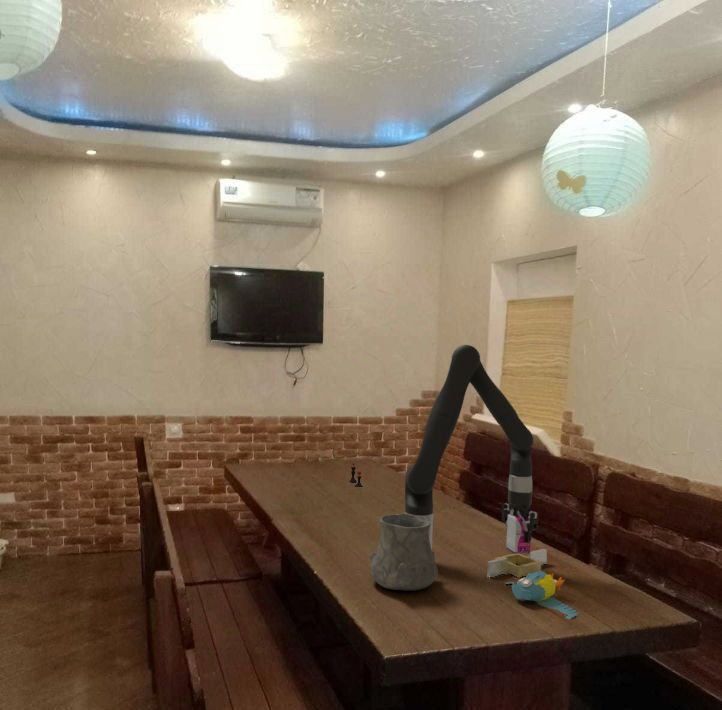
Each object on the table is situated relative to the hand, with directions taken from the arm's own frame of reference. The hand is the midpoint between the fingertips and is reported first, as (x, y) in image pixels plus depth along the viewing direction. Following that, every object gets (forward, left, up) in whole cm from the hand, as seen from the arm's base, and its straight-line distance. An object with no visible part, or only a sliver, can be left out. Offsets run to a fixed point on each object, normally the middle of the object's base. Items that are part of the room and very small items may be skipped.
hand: (518, 539), depth 209 cm
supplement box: (0, 0, -4) cm, 4 cm away
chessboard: (+23, +130, -11) cm, 132 cm away
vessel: (-41, +9, -11) cm, 43 cm away
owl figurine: (-13, -20, -11) cm, 26 cm away
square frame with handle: (0, 0, -10) cm, 10 cm away
